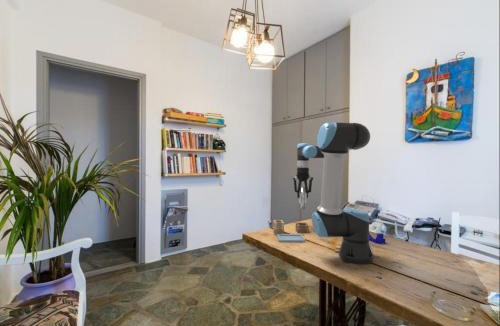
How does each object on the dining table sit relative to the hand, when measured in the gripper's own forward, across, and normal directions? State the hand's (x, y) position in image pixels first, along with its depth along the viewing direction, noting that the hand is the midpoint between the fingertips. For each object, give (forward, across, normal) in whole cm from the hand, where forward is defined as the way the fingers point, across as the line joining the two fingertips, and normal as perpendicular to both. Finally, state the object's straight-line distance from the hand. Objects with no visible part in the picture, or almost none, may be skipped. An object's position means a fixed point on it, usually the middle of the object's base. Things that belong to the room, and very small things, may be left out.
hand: (302, 202), depth 157 cm
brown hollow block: (+19, 0, 0) cm, 19 cm away
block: (+19, +16, +5) cm, 25 cm away
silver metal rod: (+4, 0, 0) cm, 4 cm away
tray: (+19, +10, +15) cm, 26 cm away
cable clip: (+19, -38, +18) cm, 46 cm away
